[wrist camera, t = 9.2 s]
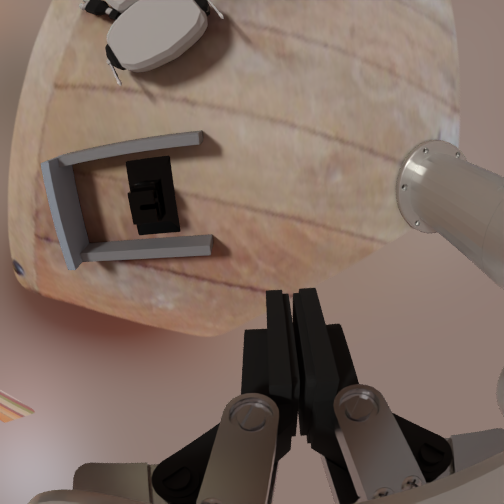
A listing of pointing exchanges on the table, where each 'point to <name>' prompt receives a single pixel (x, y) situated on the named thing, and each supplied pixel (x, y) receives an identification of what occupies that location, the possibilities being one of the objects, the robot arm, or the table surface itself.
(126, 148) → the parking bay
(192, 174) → the table surface
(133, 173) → the black bracket part
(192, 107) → the table surface
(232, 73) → the table surface
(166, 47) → the robot toy
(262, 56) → the table surface
